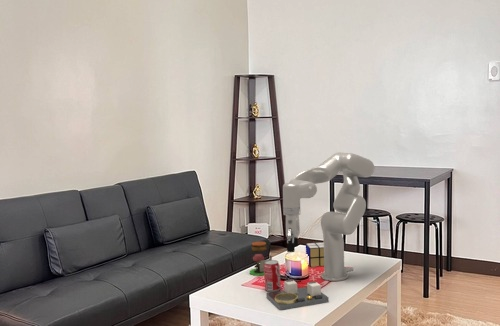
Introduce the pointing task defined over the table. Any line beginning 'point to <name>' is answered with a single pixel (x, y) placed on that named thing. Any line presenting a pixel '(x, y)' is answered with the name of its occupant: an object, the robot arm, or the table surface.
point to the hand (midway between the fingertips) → (292, 249)
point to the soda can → (272, 276)
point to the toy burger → (259, 258)
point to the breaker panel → (302, 300)
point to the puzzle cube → (315, 254)
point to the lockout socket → (286, 295)
